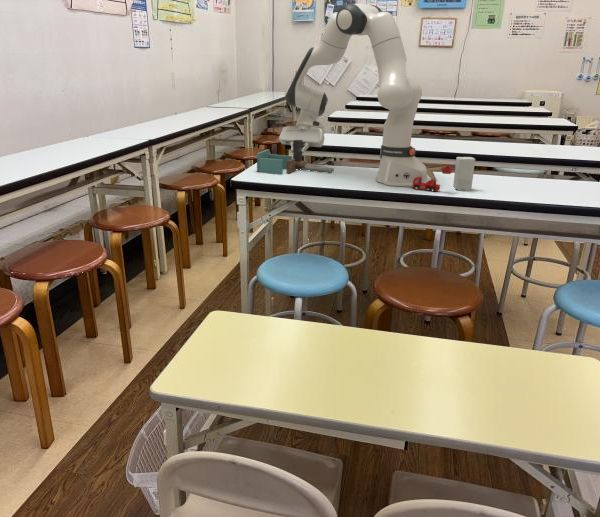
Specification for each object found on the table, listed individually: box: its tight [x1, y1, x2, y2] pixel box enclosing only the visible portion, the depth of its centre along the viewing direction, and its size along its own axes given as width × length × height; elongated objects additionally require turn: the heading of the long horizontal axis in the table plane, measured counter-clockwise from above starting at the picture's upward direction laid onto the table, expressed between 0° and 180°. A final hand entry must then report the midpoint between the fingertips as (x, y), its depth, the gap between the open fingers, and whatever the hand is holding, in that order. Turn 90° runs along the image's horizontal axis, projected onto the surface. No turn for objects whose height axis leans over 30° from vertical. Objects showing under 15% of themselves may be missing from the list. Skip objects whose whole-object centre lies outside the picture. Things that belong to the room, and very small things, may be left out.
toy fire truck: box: [411, 165, 453, 192], centre depth 190 cm, size 3×14×10 cm, turn 62°
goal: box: [256, 148, 293, 175], centre depth 219 cm, size 12×11×8 cm
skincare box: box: [452, 156, 476, 190], centre depth 192 cm, size 6×4×12 cm
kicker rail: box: [295, 165, 335, 174], centre depth 222 cm, size 17×5×1 cm, turn 69°
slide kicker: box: [286, 140, 306, 174], centre depth 219 cm, size 6×13×12 cm, turn 159°
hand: (297, 152), depth 222 cm, fingers closed on slide kicker, 3 cm apart
